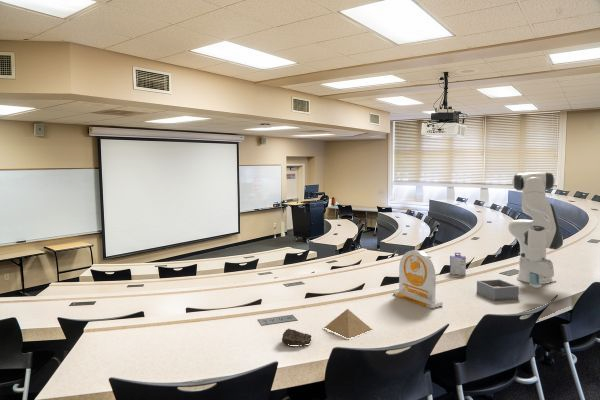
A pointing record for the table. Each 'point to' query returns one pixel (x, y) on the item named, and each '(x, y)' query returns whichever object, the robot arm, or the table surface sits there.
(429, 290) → the award
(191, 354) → the table surface
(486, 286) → the walled box
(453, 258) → the ink cartridge box
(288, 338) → the dark brown rock
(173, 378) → the table surface
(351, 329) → the model pyramid
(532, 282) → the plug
